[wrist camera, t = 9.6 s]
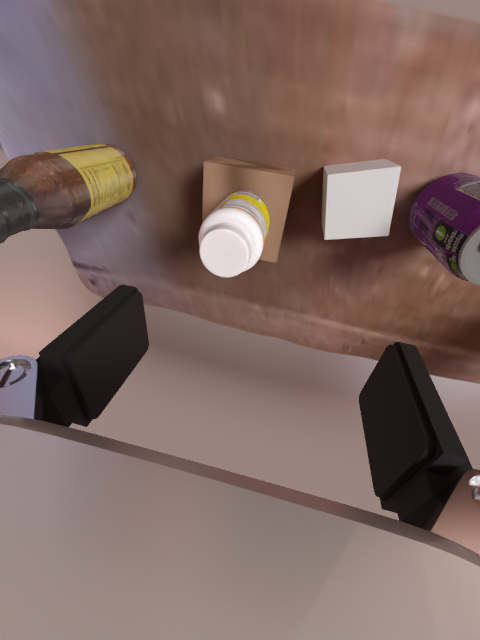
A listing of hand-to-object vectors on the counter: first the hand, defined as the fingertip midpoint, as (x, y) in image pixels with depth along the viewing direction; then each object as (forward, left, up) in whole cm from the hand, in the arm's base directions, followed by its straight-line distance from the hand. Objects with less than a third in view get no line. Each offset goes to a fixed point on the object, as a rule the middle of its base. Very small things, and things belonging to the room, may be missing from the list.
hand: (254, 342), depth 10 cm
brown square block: (+4, +2, -26) cm, 27 cm away
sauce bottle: (+21, +1, -27) cm, 34 cm away
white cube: (-7, -1, -27) cm, 28 cm away
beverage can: (-17, -1, -27) cm, 32 cm away
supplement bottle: (+4, +2, -22) cm, 22 cm away
